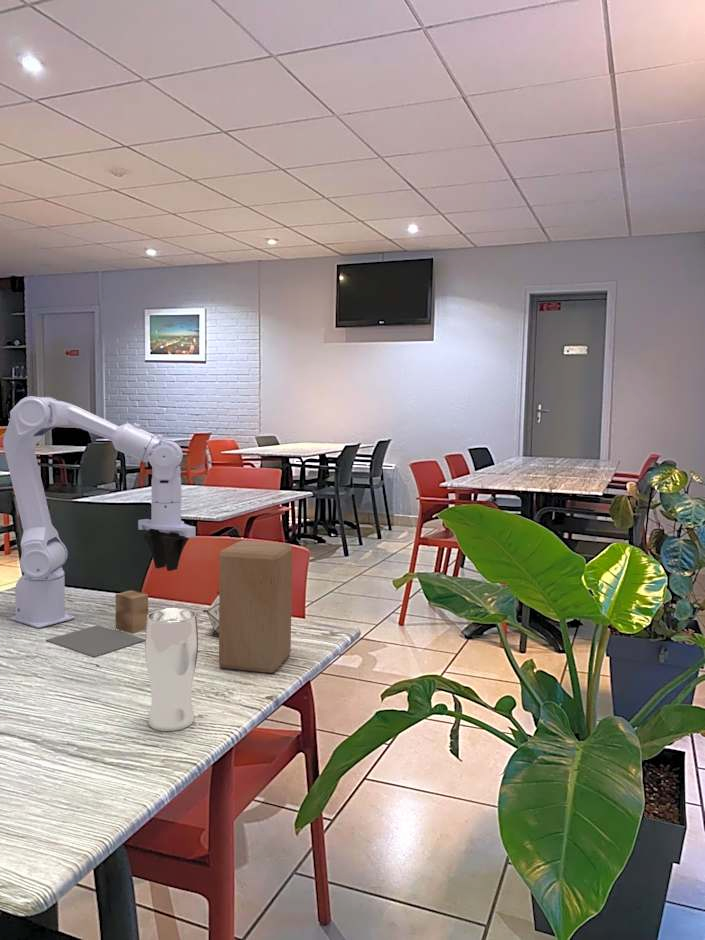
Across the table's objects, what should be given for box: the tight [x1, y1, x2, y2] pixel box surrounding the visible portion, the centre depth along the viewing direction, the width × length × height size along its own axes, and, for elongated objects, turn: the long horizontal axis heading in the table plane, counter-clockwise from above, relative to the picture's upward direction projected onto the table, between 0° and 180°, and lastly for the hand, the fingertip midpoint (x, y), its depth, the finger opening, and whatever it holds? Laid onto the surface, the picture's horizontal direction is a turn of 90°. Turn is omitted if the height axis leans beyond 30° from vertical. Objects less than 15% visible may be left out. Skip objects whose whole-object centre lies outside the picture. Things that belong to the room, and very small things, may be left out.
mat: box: [45, 624, 145, 658], centre depth 128 cm, size 14×11×1 cm
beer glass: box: [144, 607, 199, 732], centre depth 95 cm, size 7×7×15 cm
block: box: [218, 539, 293, 674], centre depth 118 cm, size 10×10×20 cm
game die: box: [202, 589, 219, 636], centre depth 133 cm, size 9×8×10 cm
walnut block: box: [115, 589, 149, 636], centre depth 134 cm, size 5×4×7 cm
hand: (166, 568), depth 140 cm, fingers open, 3 cm apart
